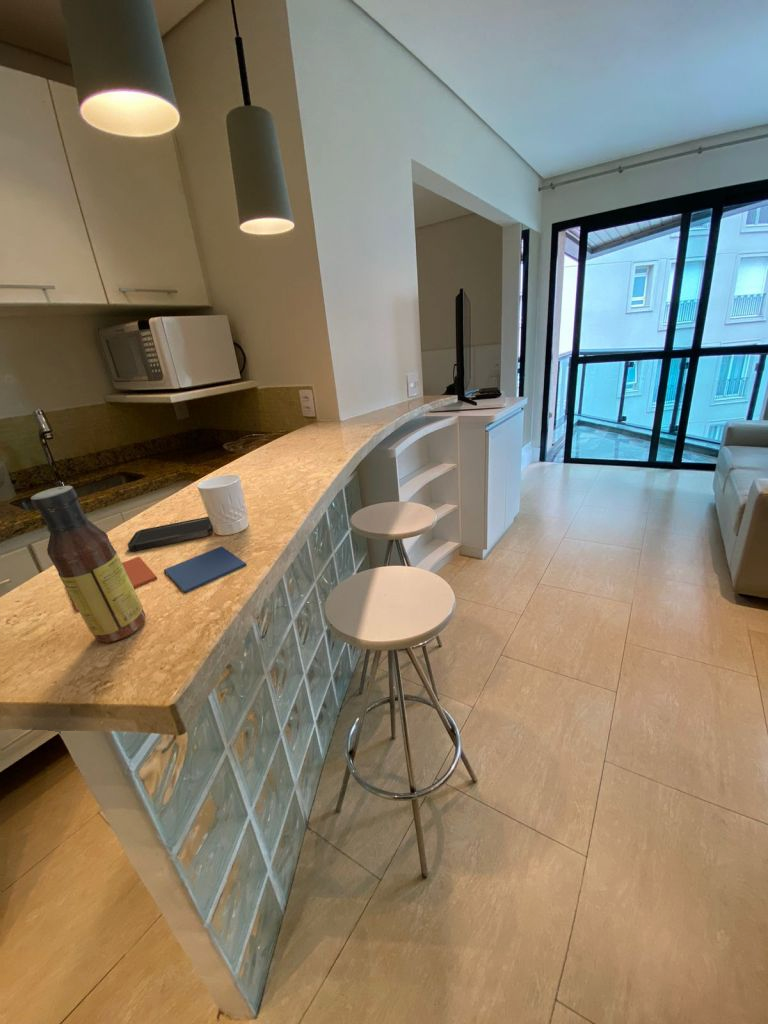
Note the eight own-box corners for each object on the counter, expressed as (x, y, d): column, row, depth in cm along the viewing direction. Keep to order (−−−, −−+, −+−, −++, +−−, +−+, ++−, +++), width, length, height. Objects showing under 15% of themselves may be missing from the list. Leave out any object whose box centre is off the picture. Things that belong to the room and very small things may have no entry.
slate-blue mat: (184, 593, 61) (183, 591, 61) (164, 571, 68) (163, 569, 68) (246, 565, 67) (246, 563, 67) (222, 547, 74) (221, 546, 74)
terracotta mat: (77, 611, 59) (76, 609, 59) (67, 585, 67) (66, 583, 67) (157, 578, 66) (156, 576, 66) (139, 558, 73) (139, 556, 73)
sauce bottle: (144, 608, 58) (89, 476, 50) (151, 629, 53) (92, 487, 45) (90, 630, 55) (22, 492, 47) (92, 654, 50) (18, 505, 42)
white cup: (219, 541, 76) (204, 491, 73) (206, 529, 82) (191, 483, 78) (258, 526, 81) (246, 479, 77) (243, 516, 87) (231, 472, 83)
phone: (137, 530, 83) (214, 515, 86) (139, 535, 83) (215, 520, 86) (125, 547, 76) (210, 529, 79) (127, 552, 76) (211, 535, 79)
